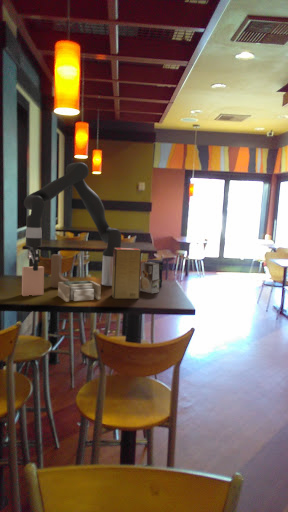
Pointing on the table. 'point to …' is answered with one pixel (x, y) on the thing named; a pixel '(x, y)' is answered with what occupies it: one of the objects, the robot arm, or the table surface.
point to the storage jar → (160, 269)
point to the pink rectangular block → (32, 281)
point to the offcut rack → (79, 290)
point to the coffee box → (150, 277)
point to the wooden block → (56, 270)
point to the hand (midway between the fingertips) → (33, 269)
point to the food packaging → (126, 273)
